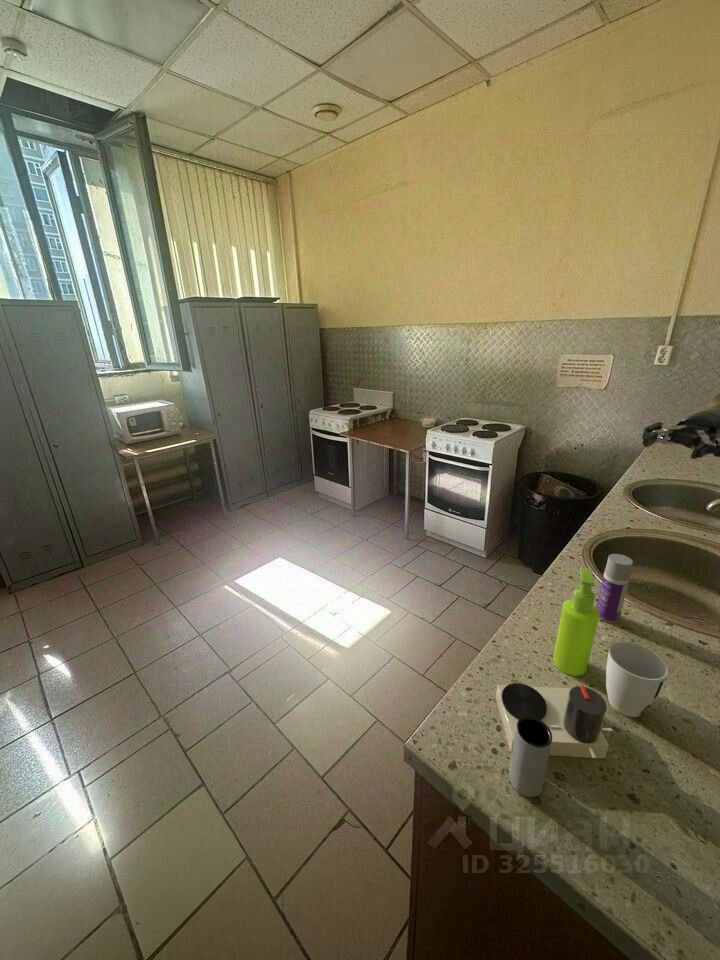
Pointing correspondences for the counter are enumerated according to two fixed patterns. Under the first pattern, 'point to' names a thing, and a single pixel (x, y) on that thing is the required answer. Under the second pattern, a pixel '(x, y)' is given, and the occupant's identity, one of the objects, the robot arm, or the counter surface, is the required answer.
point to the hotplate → (523, 701)
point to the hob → (554, 726)
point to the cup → (633, 677)
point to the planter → (530, 756)
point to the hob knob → (584, 714)
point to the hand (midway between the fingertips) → (669, 448)
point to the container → (614, 587)
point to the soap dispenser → (577, 628)
